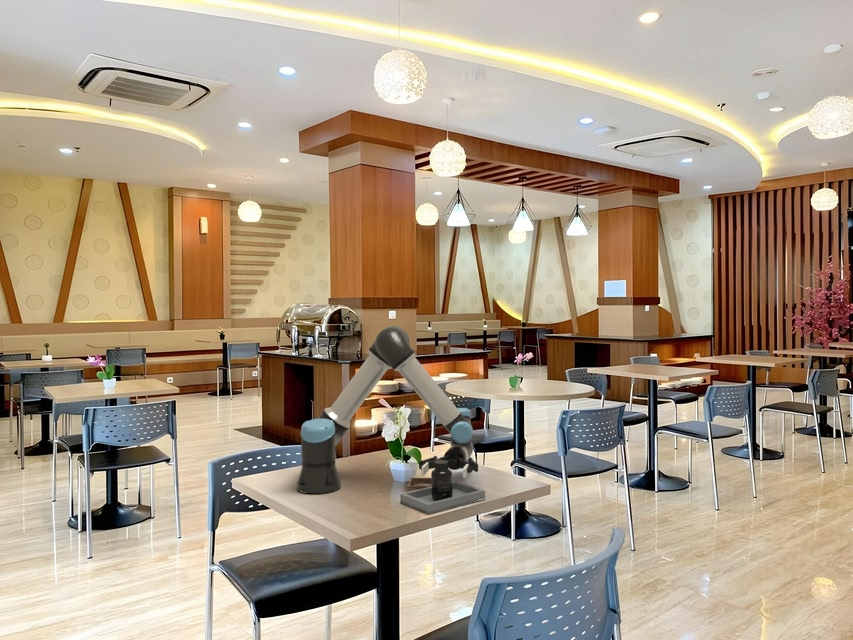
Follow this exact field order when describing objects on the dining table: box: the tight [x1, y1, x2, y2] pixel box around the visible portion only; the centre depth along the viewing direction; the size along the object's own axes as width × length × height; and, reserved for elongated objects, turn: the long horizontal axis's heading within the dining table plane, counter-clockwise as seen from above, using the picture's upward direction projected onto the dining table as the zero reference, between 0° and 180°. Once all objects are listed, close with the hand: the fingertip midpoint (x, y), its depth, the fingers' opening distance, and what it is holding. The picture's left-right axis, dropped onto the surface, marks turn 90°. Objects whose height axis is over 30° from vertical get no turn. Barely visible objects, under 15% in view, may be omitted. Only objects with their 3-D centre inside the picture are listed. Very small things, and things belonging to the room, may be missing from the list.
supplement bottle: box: [430, 460, 453, 501], centre depth 200 cm, size 7×7×12 cm
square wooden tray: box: [406, 477, 431, 492], centre depth 216 cm, size 11×11×2 cm
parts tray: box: [399, 480, 486, 515], centre depth 200 cm, size 15×23×3 cm, turn 127°
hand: (443, 472), depth 199 cm, fingers open, 13 cm apart
